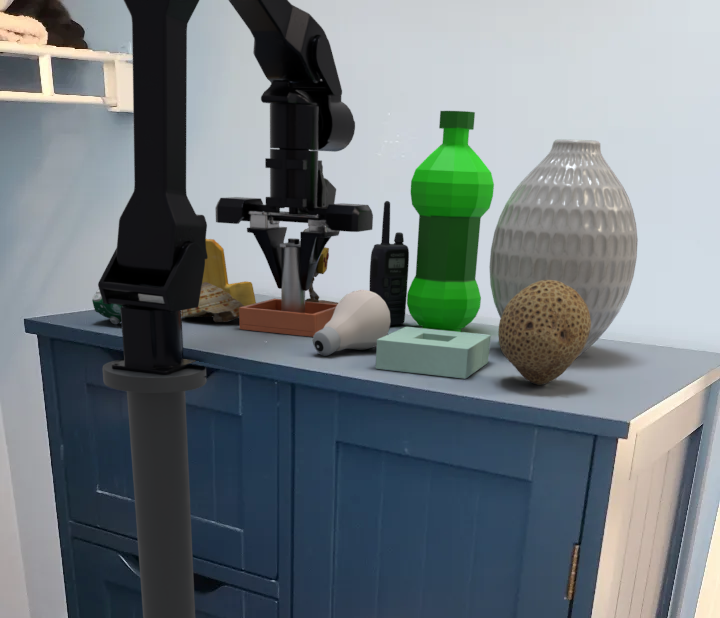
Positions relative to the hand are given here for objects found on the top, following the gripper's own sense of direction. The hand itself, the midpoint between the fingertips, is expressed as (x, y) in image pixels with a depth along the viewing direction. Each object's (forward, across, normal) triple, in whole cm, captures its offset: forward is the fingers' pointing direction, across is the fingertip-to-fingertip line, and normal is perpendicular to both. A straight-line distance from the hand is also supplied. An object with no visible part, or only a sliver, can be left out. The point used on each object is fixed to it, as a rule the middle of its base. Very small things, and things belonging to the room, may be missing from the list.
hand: (293, 289), depth 119 cm
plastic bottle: (+5, -17, -10) cm, 20 cm away
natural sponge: (+5, -35, +18) cm, 40 cm away
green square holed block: (+5, -23, +14) cm, 28 cm away
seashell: (+5, +11, 0) cm, 12 cm away
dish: (+5, 0, 0) cm, 5 cm away
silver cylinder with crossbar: (+4, 0, 0) cm, 4 cm away
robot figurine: (+5, +3, -14) cm, 15 cm away
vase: (+5, -33, -1) cm, 33 cm away
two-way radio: (+5, -9, -10) cm, 14 cm away
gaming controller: (+5, +18, +10) cm, 21 cm away
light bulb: (+5, -12, +11) cm, 17 cm away
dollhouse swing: (+5, +18, -11) cm, 22 cm away
